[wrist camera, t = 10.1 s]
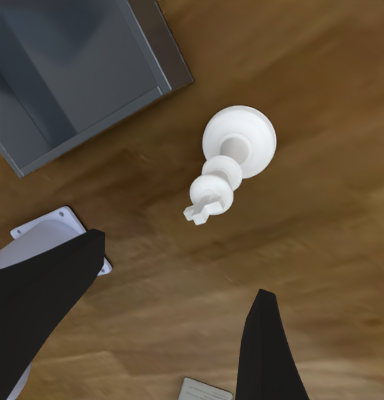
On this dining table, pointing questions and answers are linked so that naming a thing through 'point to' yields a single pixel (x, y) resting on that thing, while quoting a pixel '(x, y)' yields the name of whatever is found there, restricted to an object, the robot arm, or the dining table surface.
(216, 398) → the product box
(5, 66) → the square open tray
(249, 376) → the robot arm
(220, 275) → the dining table surface
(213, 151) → the chess piece
